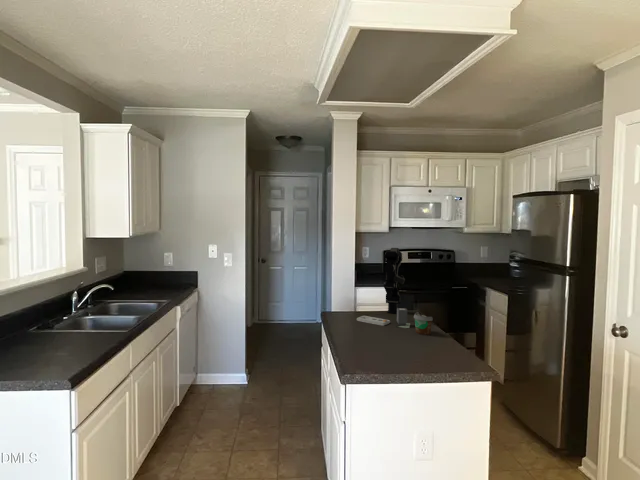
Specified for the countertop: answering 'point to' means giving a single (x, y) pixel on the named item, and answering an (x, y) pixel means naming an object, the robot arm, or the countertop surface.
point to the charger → (402, 316)
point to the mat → (404, 326)
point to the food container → (423, 324)
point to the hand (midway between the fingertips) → (390, 296)
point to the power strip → (373, 320)
